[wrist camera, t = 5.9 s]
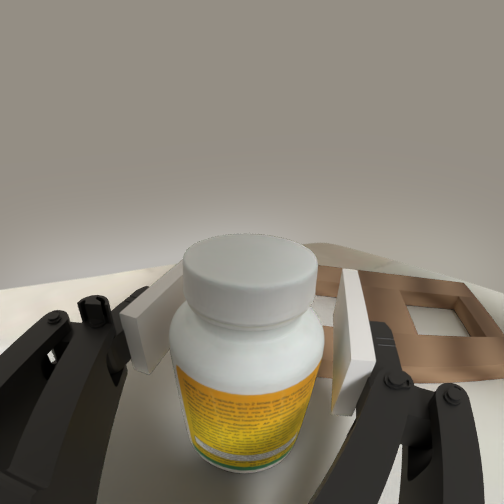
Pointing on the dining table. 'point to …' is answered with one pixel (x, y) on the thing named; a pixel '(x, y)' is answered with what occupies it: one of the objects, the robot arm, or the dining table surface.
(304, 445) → the dining table surface
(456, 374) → the rail
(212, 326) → the supplement bottle
